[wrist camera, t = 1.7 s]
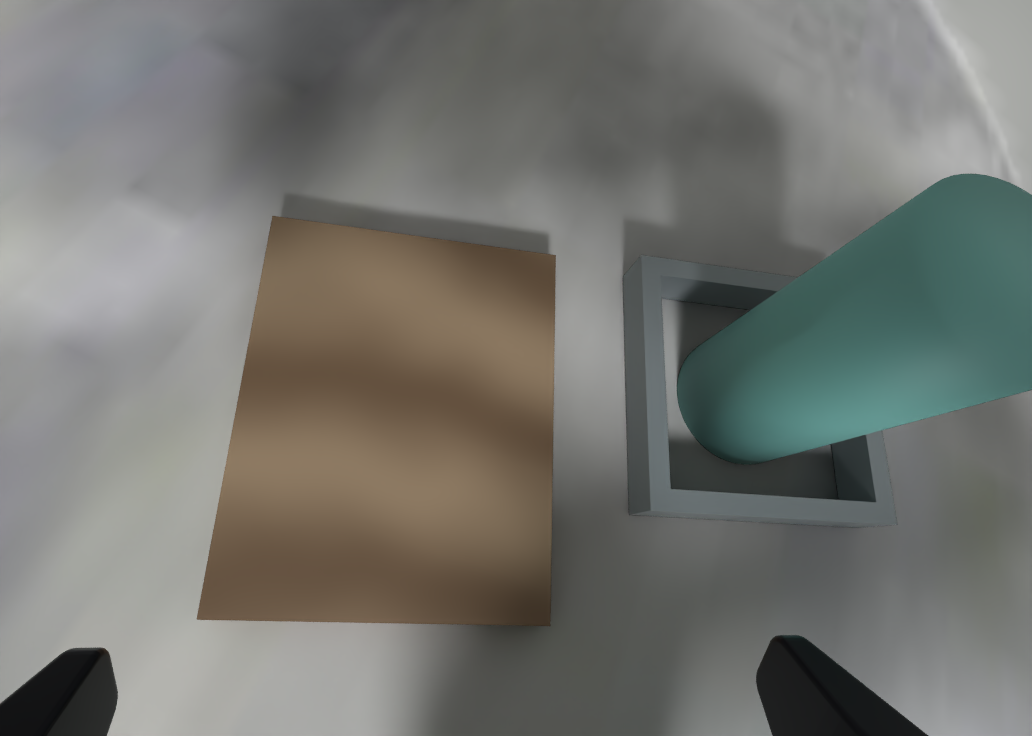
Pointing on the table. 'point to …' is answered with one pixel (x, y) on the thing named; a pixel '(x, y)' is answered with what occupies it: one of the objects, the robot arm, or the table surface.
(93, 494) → the table surface
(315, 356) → the pad
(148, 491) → the table surface
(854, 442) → the tray
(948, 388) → the canister
